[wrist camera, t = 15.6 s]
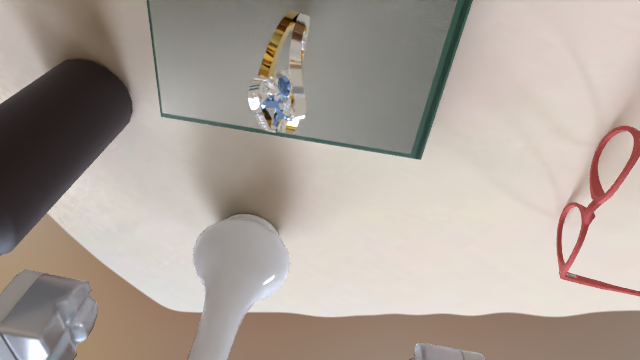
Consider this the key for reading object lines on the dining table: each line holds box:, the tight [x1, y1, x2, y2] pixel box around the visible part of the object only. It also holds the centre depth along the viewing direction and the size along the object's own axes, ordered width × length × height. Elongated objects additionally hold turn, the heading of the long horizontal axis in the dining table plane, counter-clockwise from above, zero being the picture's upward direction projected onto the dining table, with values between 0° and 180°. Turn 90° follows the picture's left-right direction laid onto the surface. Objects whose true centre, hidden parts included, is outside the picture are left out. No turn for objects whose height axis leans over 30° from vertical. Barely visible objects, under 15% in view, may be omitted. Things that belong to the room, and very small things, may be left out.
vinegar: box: [0, 59, 132, 256], centre depth 29 cm, size 7×7×20 cm
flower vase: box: [187, 214, 290, 360], centre depth 35 cm, size 13×18×25 cm
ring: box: [248, 11, 310, 135], centre depth 26 cm, size 7×3×8 cm, turn 166°
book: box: [147, 0, 473, 160], centre depth 30 cm, size 20×14×3 cm
